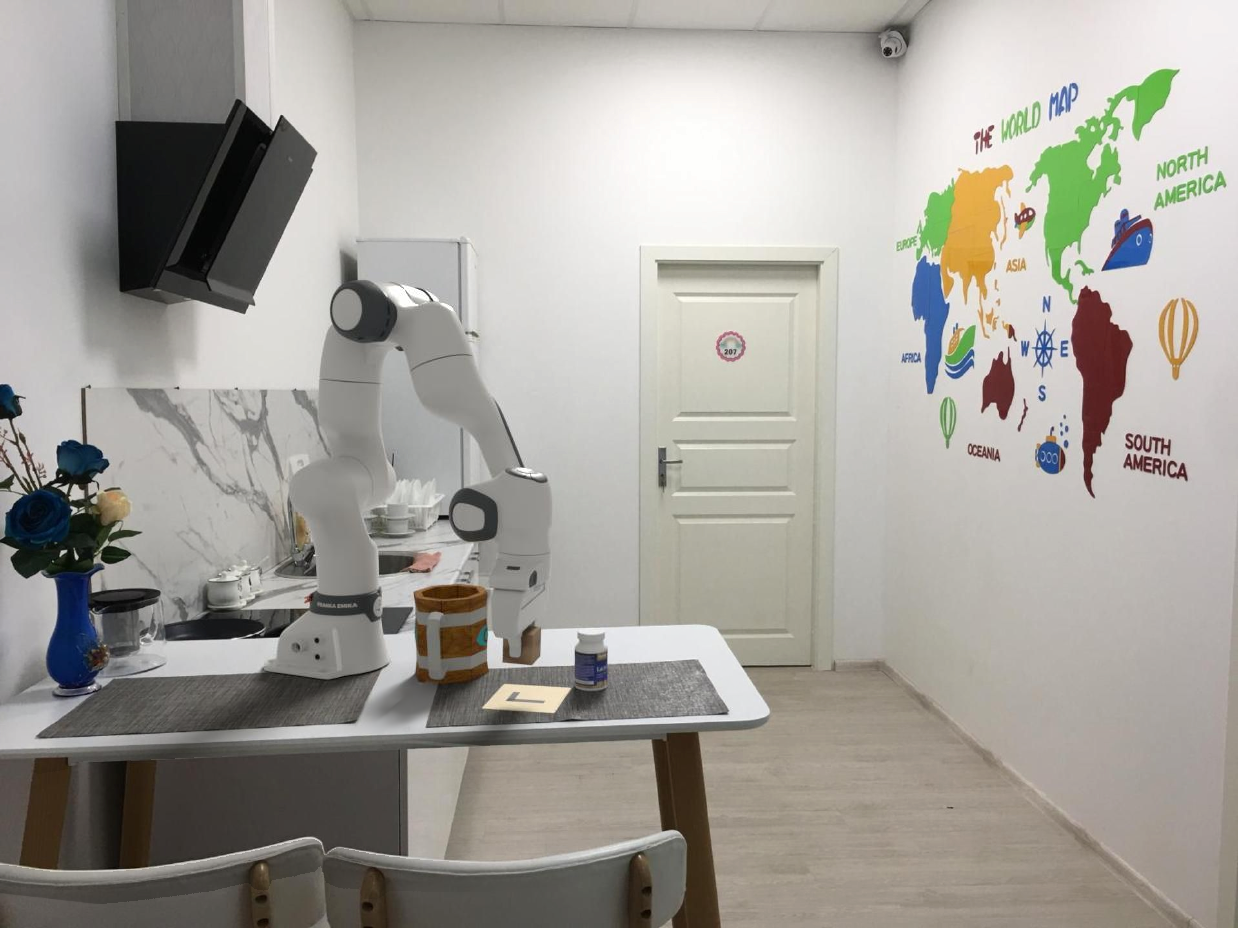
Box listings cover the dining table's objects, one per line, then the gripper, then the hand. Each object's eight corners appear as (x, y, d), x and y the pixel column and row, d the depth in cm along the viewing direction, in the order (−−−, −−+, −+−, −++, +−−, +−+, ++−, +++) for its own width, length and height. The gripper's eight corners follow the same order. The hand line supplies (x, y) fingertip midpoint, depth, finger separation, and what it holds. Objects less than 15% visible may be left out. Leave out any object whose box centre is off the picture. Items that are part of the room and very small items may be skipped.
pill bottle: (603, 694, 153) (603, 636, 152) (570, 691, 154) (570, 634, 153) (610, 682, 158) (610, 627, 157) (579, 680, 159) (578, 625, 159)
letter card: (481, 710, 145) (481, 708, 145) (504, 685, 157) (504, 683, 157) (554, 715, 143) (554, 712, 143) (571, 689, 155) (571, 687, 155)
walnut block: (502, 662, 147) (503, 632, 147) (511, 653, 152) (512, 624, 152) (532, 665, 146) (532, 635, 146) (540, 656, 151) (541, 626, 151)
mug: (425, 661, 171) (423, 583, 169) (496, 662, 170) (495, 584, 169) (393, 697, 151) (391, 609, 150) (473, 698, 150) (472, 610, 149)
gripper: (523, 554, 158) (521, 631, 160) (485, 579, 138) (483, 667, 140) (558, 556, 157) (556, 634, 159) (524, 582, 137) (522, 671, 139)
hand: (521, 650), depth 149 cm, fingers closed on walnut block, 5 cm apart
